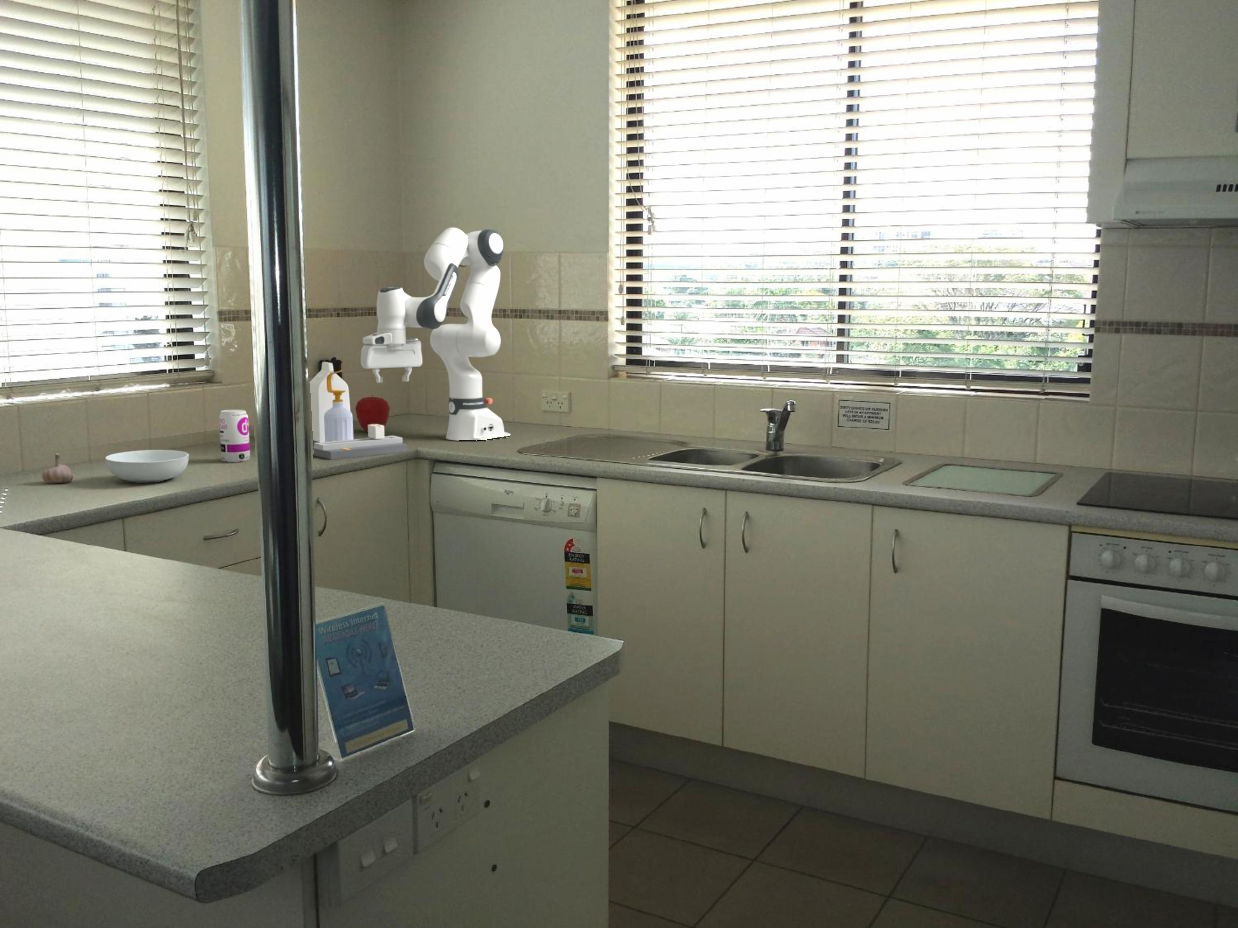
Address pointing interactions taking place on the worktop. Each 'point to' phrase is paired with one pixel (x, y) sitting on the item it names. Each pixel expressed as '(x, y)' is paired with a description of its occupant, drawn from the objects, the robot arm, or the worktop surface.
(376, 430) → the white small block
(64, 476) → the garlic bulb
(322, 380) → the milk
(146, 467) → the serving bowl
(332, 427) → the soap bottle
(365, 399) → the apple
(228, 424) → the supplement can
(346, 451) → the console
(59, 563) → the worktop surface
